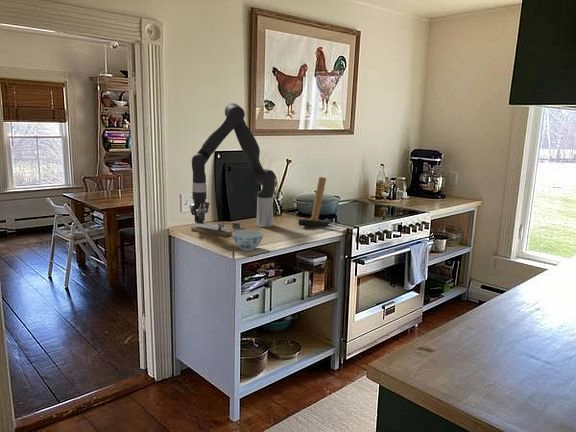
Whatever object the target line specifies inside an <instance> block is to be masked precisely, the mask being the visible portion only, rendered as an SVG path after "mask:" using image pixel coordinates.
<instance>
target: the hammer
mask: <svg viewBox="0 0 576 432" xmlns="http://www.w3.org/2000/svg"><path fill="white" fill-rule="evenodd" d="M326 181H327V178H326V177H322V176H319V177H318V182H317V187H316V192H315V197H314V202H313V207H312V214H311V217H310V218H299V220H298V225H299V226H303V227H306V228H310V229H312V228H313V229H314V228H316V227H317V228H324V226H326V227H328V226H329V224H330V223H331V221H332V219H329V218H325V219H324V220H320V219H319V217H320V212H321V206H322V201H323V198H324V197H323V196H324V191H325V186H326ZM317 228H316V229H317Z"/></svg>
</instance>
